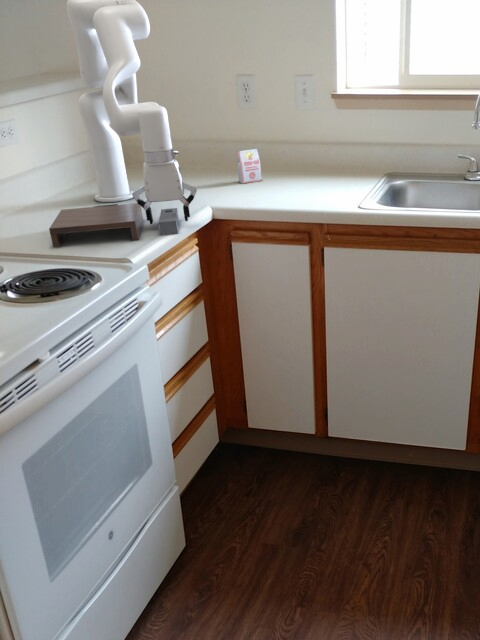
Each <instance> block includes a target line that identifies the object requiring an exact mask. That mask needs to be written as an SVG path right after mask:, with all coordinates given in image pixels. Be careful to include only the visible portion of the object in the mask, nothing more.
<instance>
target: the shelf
mask: <svg viewBox="0 0 480 640" xmlns="http://www.w3.org/2000/svg"><path fill="white" fill-rule="evenodd" d="M110 205H111V206H102V205H98V206H99V207H94V206H89V207H87V206H86V207H78V208H77V207H75V208H66V209H60V210H59V213H58V214H57V215H56V217H55V219H54V220H53V222H52V223H51V225H50V226H49V228H48V230H49V234H50V239H51V243H52V247H53V248H60V247H61V246H62V243H63V241H64V239H65V238H66V236H67V234H70V233H82V232H92V231H93V232H94V231H104V230H105V231H106V230H115V229H126V228H130V234H131V238H132V241H139V238H140V235H141V231H142V227H143V225H144V224H143V223H144V216H143V210H142V206H140V205H139V204H138V203H137V202H136V203H124V204H118V205H113V204H110Z"/></svg>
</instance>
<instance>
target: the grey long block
mask: <svg viewBox="0 0 480 640" xmlns="http://www.w3.org/2000/svg"><path fill="white" fill-rule="evenodd" d="M158 224H159V225H158V226H159V232H160V235H161V236H165V235H176V234H179V225H180V218H179V211H178V207H171V208H162V209H160V213H159V221H158Z"/></svg>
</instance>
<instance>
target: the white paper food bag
mask: <svg viewBox="0 0 480 640" xmlns="http://www.w3.org/2000/svg"><path fill="white" fill-rule="evenodd" d="M236 166H237V175H238V182H239V183H240V184H243V185H245V184H250V183H257V182H262V167H261V160H260V156H259V151H258V148H252V149H244V150H238V151H237V162H236Z"/></svg>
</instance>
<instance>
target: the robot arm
mask: <svg viewBox="0 0 480 640" xmlns="http://www.w3.org/2000/svg"><path fill="white" fill-rule="evenodd" d="M66 1H67V2H66V14H67V18H68V21H69V24H70V26H71V28H72V30H73V33H74V36H75V40H76V49H77V56H78V64H79V65H78V67H79V73H80V78H81V81H82V83H83V84H84V86H85V87H86V88H89V89H96V90H90V91H87V92H84V93H83V94H82V95H80V96H79V99H78V102H77V105H78V110H79V113H80V116H81V119H82V122H83V125H84V128H85V131H86V135H87V139H88V144H89V149H90V153H91V154H90V155H91V158H92V165H93V170H94V173H95V179H96V185H97V188H98V193H97V194H95V195H94V200H95V201H96V202H99V203H116V202H123V201H126V200H130V199H134V200H135V202H136V203H138V204H139V205H140V206H141V208H143V210H144V211H145V217H146V221H147V222H149V225H153V224H154V218H153V213H152V211H153V210H152V207H151V205H152V203H161V202H170V201H171V202H172V201H173V202H174V201H180V203H182V204H183V205H182V209H183V215H184V221H185V222H188V221H189V218H191V213H190V204H191V203H192V202H193V201H194V199H195V196H196V194H197V187H196V186H193V185H191V184H189V183H186V182H184V181H183V179H182V178H183V177H182V172H181V168H180V164H179V162H178V160H177V159H175V158H176V157H179V156H180V154H179V150H175V149H173V145H172V144H173V143H172V136H171V130H170V129H171V128H170V123H169V122H170V121H169V115H168V110H167V108H166V107H165V106H163V105H160V104H158V103H157V102H155V101H146V102H138V85H137V72H138V71H139V70H140V68H141V58H140V57H139V54H138V51H137V48H136V46H135V42H134V41H139V40H140V41H141V40H145V39H147V38H148V37H149V36H150V33H151V25H150V20H149V17H148V15H147V13H146V11H145V9H144V7H143V6H142V5H141V4H140V3H139V2H138V1H137V0H66ZM116 87H118V88H116ZM97 89H98V90H97ZM135 135H140V137H141V144H142V149H143V150H142V151H143V155H144V162H143V163H142V175H143V177H142V178H143V185H142V186H140V187H139V188H138V189H136V190H132V189H130V186H129V181H128V175H127V169H126V164H125V158H124V152H123V147H122V146H123V145H122V142H121V138H120V136H121V137H127V136H128V137H129V136H135ZM185 190H186V191H188V192H189V191H190V194H189V195H188V196H187V197H186V196H185V195H184V194H185ZM143 193H144V194H145V198H146V200H145V201H144V200H143V199H142V198H141V197H140V195H141V194H143Z"/></svg>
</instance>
